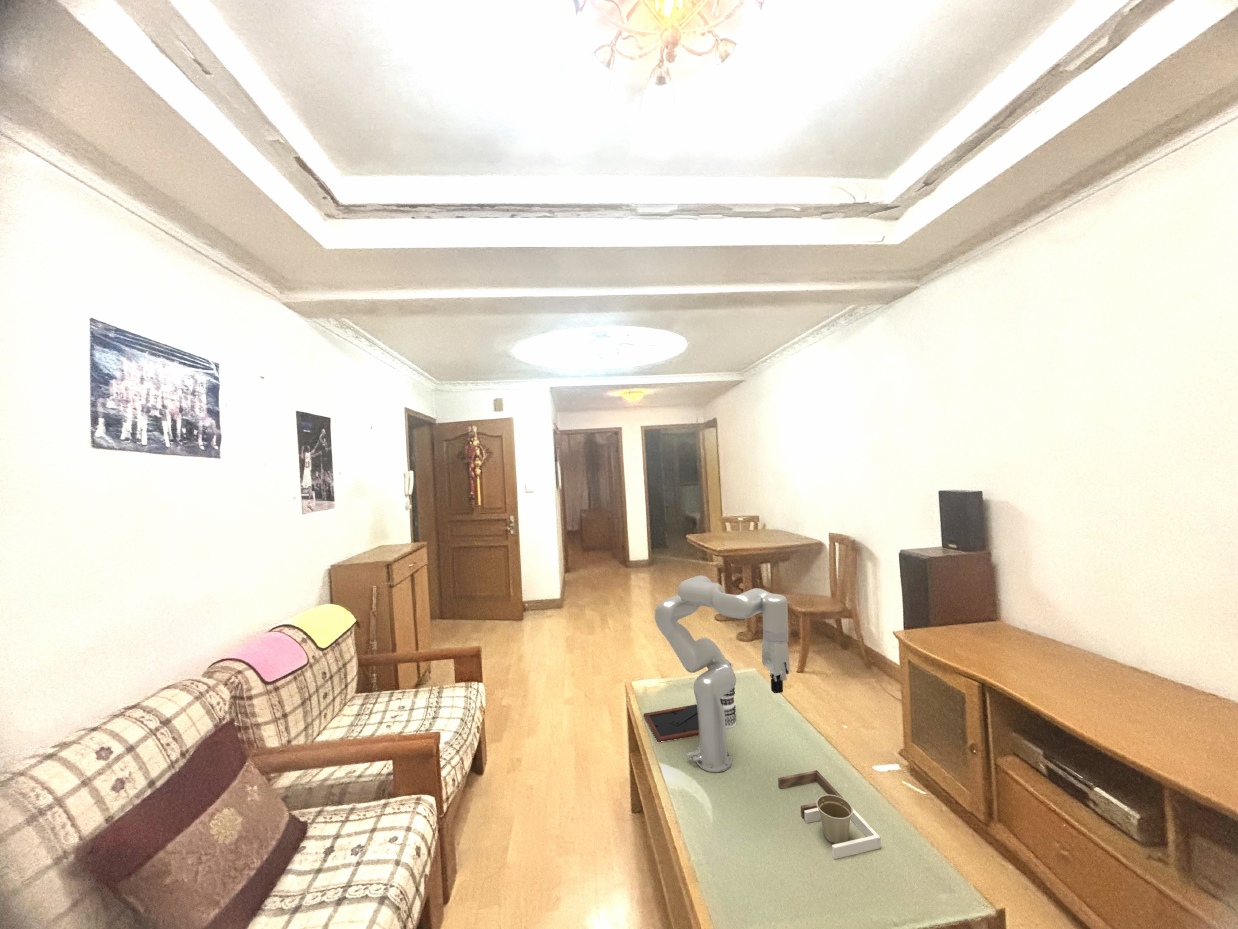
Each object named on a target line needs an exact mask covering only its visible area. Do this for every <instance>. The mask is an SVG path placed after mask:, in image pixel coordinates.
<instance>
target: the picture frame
mask: <svg viewBox="0 0 1238 929" xmlns="http://www.w3.org/2000/svg"><path fill="white" fill-rule="evenodd" d="M644 717H645V718H644ZM643 718H644V720H645V721H647V722H646V723H647V726H648V725H649V726H648V727H649V729H650V731H651V733H652V732H653V733H652V735H653V734H654V735H653V737H654V736H655V737H654V739H655V738H656V739H655V740H657V741H656V742H661V741H666V742H668V741H667V740H672V741H675V740H674V739H677V740H680V738H682V739H687V738H691V737H696V736H698V737H699V726H698V711H697V703H696V704H691V705H690V704H689V705H684V706H680V707H674V708H673V707H672V708H668V709H663V710H662V709H661V710H657V711H651V712H645V713H643ZM661 743H662V742H661Z"/></svg>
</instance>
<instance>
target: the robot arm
mask: <svg viewBox="0 0 1238 929" xmlns="http://www.w3.org/2000/svg"><path fill="white" fill-rule="evenodd" d="M676 591H677V595H674V596H671V597H668V598H666V599H664V600H662V601H660V602H659V603H658V604H657V606H656V607H655V611H654V620H655V624H656V626H657V628H658V629H659V631H660V633H661V634H662V635H663V637H665V639H666V640H667V641H668V643H669V644H670V647H671V649H672V650H673V651H674V653H675V654H676V657H677V658H678V659H679V662H680V663H681V665H682V667H683V668H684V669H685V671H687V672H689V673H691V674H693V673H697V672H699V671H701V670H703V669H704V668H707V670H706V671H705V672H702V673H701V674H700V675H698V676H697V678H696V679H695V680H694V682H693V685H692V686H693V693H694V697H695V700H696V702H695V703H696V704H697V711H698V726H699V735H698V742H699V744H698V745H699V746H698V745H697V746H696V748H697V749H695V750H694V751H689V752H686V757H687V759H688V760H689V759H692V761H693V762H694V763H695V762H696V764H697V766H698V767H700V769H702V770H703V771H706V772H709V773H722V772H725V771H727V770H729V768H731V766H732V764H733V758H732V756H731V754H730V753H729V752H728V748H727V747H728V746H727V744H728V743H727V728H726V726H725V712H724V708H723V706H722V704H721V702H720V699H721V697H722V696H724V695H725V694H726V693H728V692H729V691H731V690H732V689H733V688H734V687H736V684H737V676H736V674H735V671H734V670H733V667H732V668H731V666H730V665H729V663H728V661H729V660H728V659H726V657H725V656H724V654H723V652H722V651H721V649H720V647H719V646H718V645H717V644H716V643H715V642H714V641H713V640H711V639H710V638H707V637H702V638H699V639H697V640H695V639H694V637H693V636H692V634H691V633H690V630H688V629H687V627H686V626H684V625H682V624H681V623H679V622H678V621H679V620H682V619H683V618H686V617H688V616H691V615H692V614H694V613H695V612H696V611H697V610H699V609H700V608H701V606H703V607H707V608H711V609H714V611H716V612H717V613H718V614H720V615H722V616H724V617H727V618H733V619H737V620H745V619H750V618H751V617H754V616H755V615H757V614H761V613H762V633H763V634H762V636H763V637H762V642H761V643H762V644H761V645H762V646H761V663H762V666H764V667H765V668H766V669H767V670H768V671H769V678H770V690H771V692H772V693H773V694H782V693H784V681H787V679H788V678H787V675H789V674H790V670H791V667H790V666H791V665H790V652H789V646H788V642H789V614H788V612H789V610H788V598H786V596H784V595H783V594H779V593H771V592H769V591H767V590H764V589H762V588H759V587H758V588H757V587H756V588H755V587H754V588H752V589H750V590H746V591H744V592H742V593H740V594H732V593H725V590H724V588H723V586H722V585H721V583H718V582H712V580H711V579H710V578H709V577H707V576H706V575H696V576H693V577H690V578H688V579H685V580H682V581H681V582H680V584H678V586H677V590H676ZM727 660H728V661H727Z"/></svg>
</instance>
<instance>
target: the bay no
mask: <svg viewBox="0 0 1238 929" xmlns="http://www.w3.org/2000/svg"><path fill="white" fill-rule="evenodd" d="M777 780H778V781H777V782H778V783H777V784H778V788H779V790H782V789H786V788H792V787H796V786H801V785H802V786H803V785H806V784H811V783H812V784H813V783H817V784H818V785H819V786H820V787H821V788H822V790H824V791H825V793H826V795H836V796H839V797H841V798H843V799H845V798H844V797H843V796H842V795H841V794H840V793H839V792H838V790H837V789H836V788H834V786H833V785H832V784H831V783H829V781H828V780H827V779H826V778H825V777H824V776H823V775H822V774H821V773H820V772H819V770H817V769H816V770H811V771H806V772H800V773H796V774H791V775H786V776H780V777H778V778H777ZM814 808H817V805H816V802H812V803H808V804H803V805H800V816H801V818H802V819H805V815H804V811H805V810H810V809H814Z"/></svg>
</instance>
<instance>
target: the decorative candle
mask: <svg viewBox="0 0 1238 929" xmlns="http://www.w3.org/2000/svg"><path fill="white" fill-rule="evenodd" d="M726 660H727V661H728V663H729V665H730V666H731V668H732V669H733V667H734V665H733V663H732V662H731V661H729V659H726ZM735 687H736V686H735ZM735 687H734V688H733V689H732V690H731V691H729V692H728V693H726V694H725V695H724V696H722V697H721V699H720V702H721V704H722V706H723V708H724V712H725V726H726V729H731V728H734V727H735V726H736V725H737V713H736V711H737V709H736V708H737V707H736V705H735V698H734V697H735V696H736V695H735V694H736V691H735V690H736V688H735Z"/></svg>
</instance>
